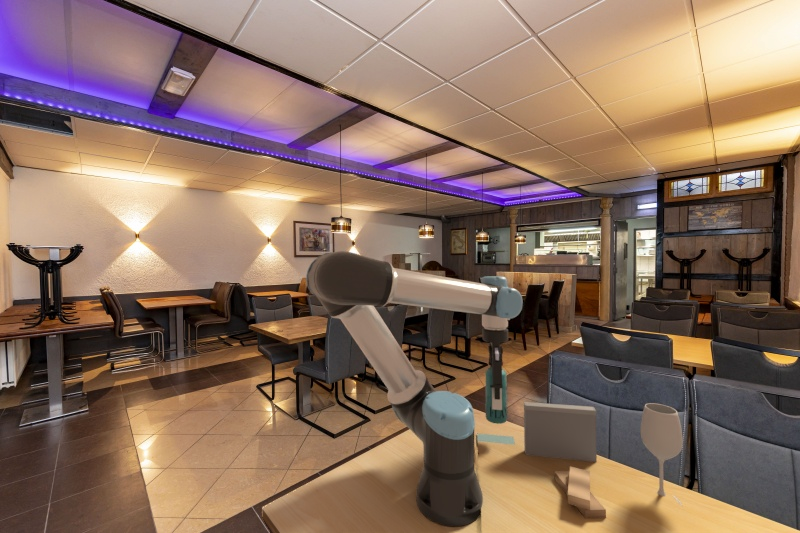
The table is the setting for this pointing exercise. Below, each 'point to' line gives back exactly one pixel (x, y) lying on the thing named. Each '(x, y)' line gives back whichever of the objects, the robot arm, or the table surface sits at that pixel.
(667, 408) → the wineglass
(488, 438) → the mat
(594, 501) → the offcut middle
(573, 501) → the offcut top
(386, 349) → the robot arm
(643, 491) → the table surface
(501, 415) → the beverage bottle
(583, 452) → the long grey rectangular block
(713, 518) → the table surface
